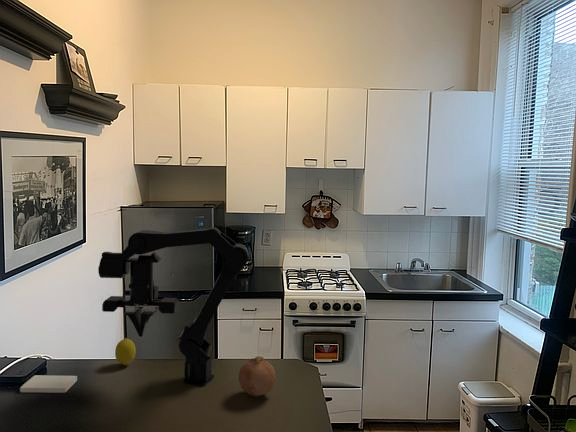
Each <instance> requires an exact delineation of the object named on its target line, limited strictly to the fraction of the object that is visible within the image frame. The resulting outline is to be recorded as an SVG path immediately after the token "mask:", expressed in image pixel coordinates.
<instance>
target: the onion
mask: <svg viewBox="0 0 576 432" xmlns="http://www.w3.org/2000/svg"><path fill="white" fill-rule="evenodd" d="M276 380H277V377H276V372H275V368H274V367H273V365H272V364H271V363H270V362H269V361H268V360H265V358H264V357H262V356H260V355H259V356H255V357H254V358H251V359H248V360H247V361H246V362H245V363H244V364H242V366H241V367H240V369H239V372H238V383H239V386H240V388H241V389H242V390H243V392H245V393H247V394H248V395H249V396H250V397H257V398H258V397H259V398H260V396H263V395H266V394H268V393H269V392H270V391H271V390H273V389H274V387H275V384H276Z"/></svg>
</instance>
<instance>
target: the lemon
mask: <svg viewBox="0 0 576 432" xmlns="http://www.w3.org/2000/svg"><path fill="white" fill-rule="evenodd" d="M136 350H137V349H136V346H135V343H134V342H133V340H132V339H129V338H127V337H124V338H123V339H122V340H120V341H119V342H118V343H117V344H116V346H115V352H114V353H115V355H114V356H115V359H116V361H117V362H118V363H119V364H122V365H124V366H127V365H128V364H130V363H131V362H133V361H134V359H135V358H136V352H137V351H136Z"/></svg>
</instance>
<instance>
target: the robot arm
mask: <svg viewBox="0 0 576 432" xmlns="http://www.w3.org/2000/svg"><path fill="white" fill-rule="evenodd" d="M205 244H206V245H207V244H209V245H211V246H212V247H213V248H214V249H215V250H216V251H217V252H218V253H219V254H220V255H221V256H223V257H224V262H223V264H222V268H221V271H220V274H219V276H218V277H217V279H216V281H215V283H214V285H213V287H212V289H211V291H210V293H209V294H208V297H206V300H205V302H204V304H203V305H202V308H201V310H200V311H199V313H198V315H197V316H196V318H195V319H194V320H191V319H190V318H189V319H188V320H187V322H186V324H185V325H184V328H183V330H182V331H181V332H180V335H179V337H178V340H179V343H178V348H179V351H180V353H181V354H183V356H184V357H185V362H184V366H183V370H184V371H183V373H184V375H183V376H184V378H183V379H182V380H181V382H182V383H184V384H190V385H195V386H199V387H204V386H205V385H206V384H208V383H209V382H210V381H212V380H213V379H214V378H215V375H214V374H212V372H213V371H212V368H213V367H212V366H213V365H212V363H213V361H212V360H213V357H212V356H210V355H209V354H210V352H211V348H212V344H211V343H210V342H209V341H208V340H207V339H206V337H205V336H206V334H207V333H206V332H207V330H208V327H209V325H210V323H211V321H212V319H213V317H214V315H215V314H216V312H217V310H218V308H219V306H220V303H222V301H223V298H224V297H225V296H226V293H227V291H228V289H229V287H230V285H231V284H232V282H233V280H234V279H236V277H237V276H238V275H239V274H240V273H241V271H243V269H244V268H245V266H246V265H247V263H248V261H249V248H248V247H246V245H244V244H242V243H237V242H236V241H234V239H232V238H230V237H229V236H227V235H226V234H225V233H223V232H222V231H220V229H219V228H217V227H213V226H212V227H210V228H201V229H200V228H199V229H191V230H179V231H178V230H177V231H169V232H168V231H158V230H150V229H149V230H148V229H147V230H146V229H143V230H139V231H137V232H135V233H133V234H131V235H130V236H129V238H128V241H127V246H126V247H125V249H124V250H122V252H112V251H111V252H110V251H103V252H102V253H101V258H100V261H99V265H98V270H97V271H98V272H97V273H98V276H99V278H101V279H124V278H125V277H126V275H130V277H129V278H130V279H129V282H130V283H128V289H129V294H130V295H129V300H127V299H126V298H125V296H121V295H118V296H117V295H111V296H109V297H107V298H106V299H105V300H104V301H103V302H102V304H101V305H102V306H101V307H102V308H101V309H102V312H103V313H104V312H105V313H107V312H108V313H110V312H111V313H112V312H113V313H115V311H116V310H117V309H118V308H125V312H124V316H128V318H129V320H130V321H131V323H132V324H133V327H134V328H135V330H136V333H137V335H138V337H140V338H141V337H144V335H145V332H146V329H147V327H148V323H149V321H150V318H151V317H152V316H154V315H155V313H157V311H159V312H160V313H161V314H172V315H173V314H175V313H176V312H177V311H178V310H179V308H180V301H179V299H178V298H177V297H163V298H162V299H161V300H156V299H159V298H158V296H159V289H160V287H159V286H156V285H155V280H154V279H153V278H154V264H155V263H159V262H160V261H161V260H162V258H161V257H160V256H159V255H157V253H156V252H155V251H158V250H159V251H160V250H162V249H165V248H173V247H183V246H184V247H187V246H195V245H205ZM148 253H151V254H149V255H147V254H148ZM135 255H137V256H138V255H139V256H138V257H133V256H135ZM129 273H130V274H129Z"/></svg>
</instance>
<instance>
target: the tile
mask: <svg viewBox="0 0 576 432" xmlns="http://www.w3.org/2000/svg"><path fill="white" fill-rule="evenodd" d="M77 381H78V376H77V375H46V374H45V375H41V374H40V375H36V374H35V375H33V376H32V377H31V378H30V379H28V380H27V381H26V382H24V384H22V385H21V387H19V393H56V394H57V393H59V394H60V393H61V394H62V393H63V394H64V393H66V392H68V390H69V389H70V388H72V386H73V385H74V384H75V383H76V382H77Z"/></svg>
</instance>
